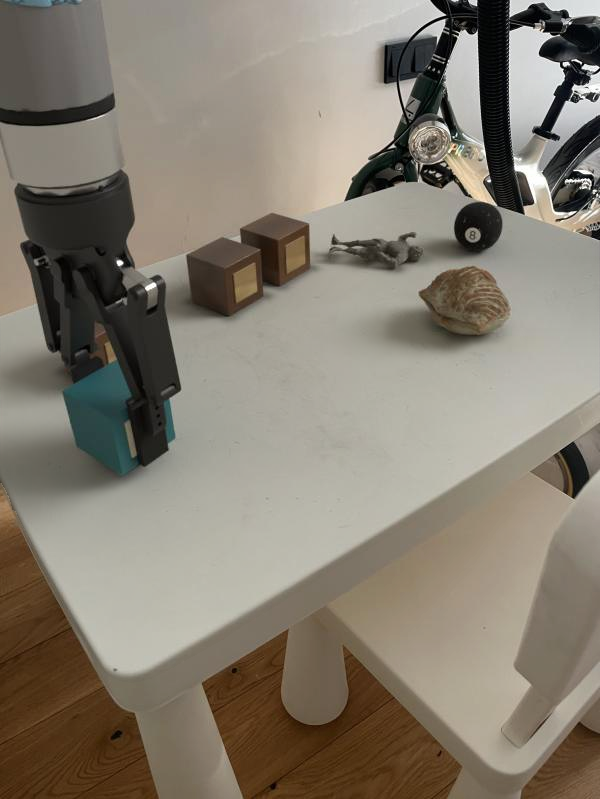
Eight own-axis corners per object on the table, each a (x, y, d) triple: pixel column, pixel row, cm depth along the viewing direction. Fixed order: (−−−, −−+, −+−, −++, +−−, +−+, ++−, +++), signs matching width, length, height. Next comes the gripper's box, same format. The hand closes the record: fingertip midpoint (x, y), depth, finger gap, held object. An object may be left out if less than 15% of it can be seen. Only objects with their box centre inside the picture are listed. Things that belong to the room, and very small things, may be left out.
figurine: (330, 221, 95) (424, 218, 92) (334, 244, 98) (425, 242, 95) (324, 254, 91) (421, 251, 89) (328, 277, 94) (423, 275, 92)
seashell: (464, 361, 75) (518, 331, 79) (469, 303, 71) (526, 274, 74) (403, 321, 81) (456, 295, 85) (405, 266, 77) (460, 240, 80)
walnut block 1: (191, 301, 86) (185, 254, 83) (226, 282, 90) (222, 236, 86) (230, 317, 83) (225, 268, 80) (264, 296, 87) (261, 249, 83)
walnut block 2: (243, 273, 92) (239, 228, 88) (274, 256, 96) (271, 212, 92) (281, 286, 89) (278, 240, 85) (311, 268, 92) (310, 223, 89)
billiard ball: (503, 242, 97) (509, 198, 93) (493, 261, 92) (499, 215, 89) (458, 236, 99) (462, 192, 95) (446, 254, 95) (451, 209, 91)
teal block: (76, 447, 63) (61, 390, 59) (130, 412, 66) (119, 357, 63) (123, 477, 60) (110, 419, 56) (177, 439, 63) (168, 382, 60)
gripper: (212, 188, 47) (238, 462, 60) (32, 135, 56) (90, 381, 70) (120, 228, 42) (171, 515, 56) (-58, 163, 52) (23, 420, 65)
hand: (126, 440), depth 63 cm, fingers closed on teal block, 6 cm apart
